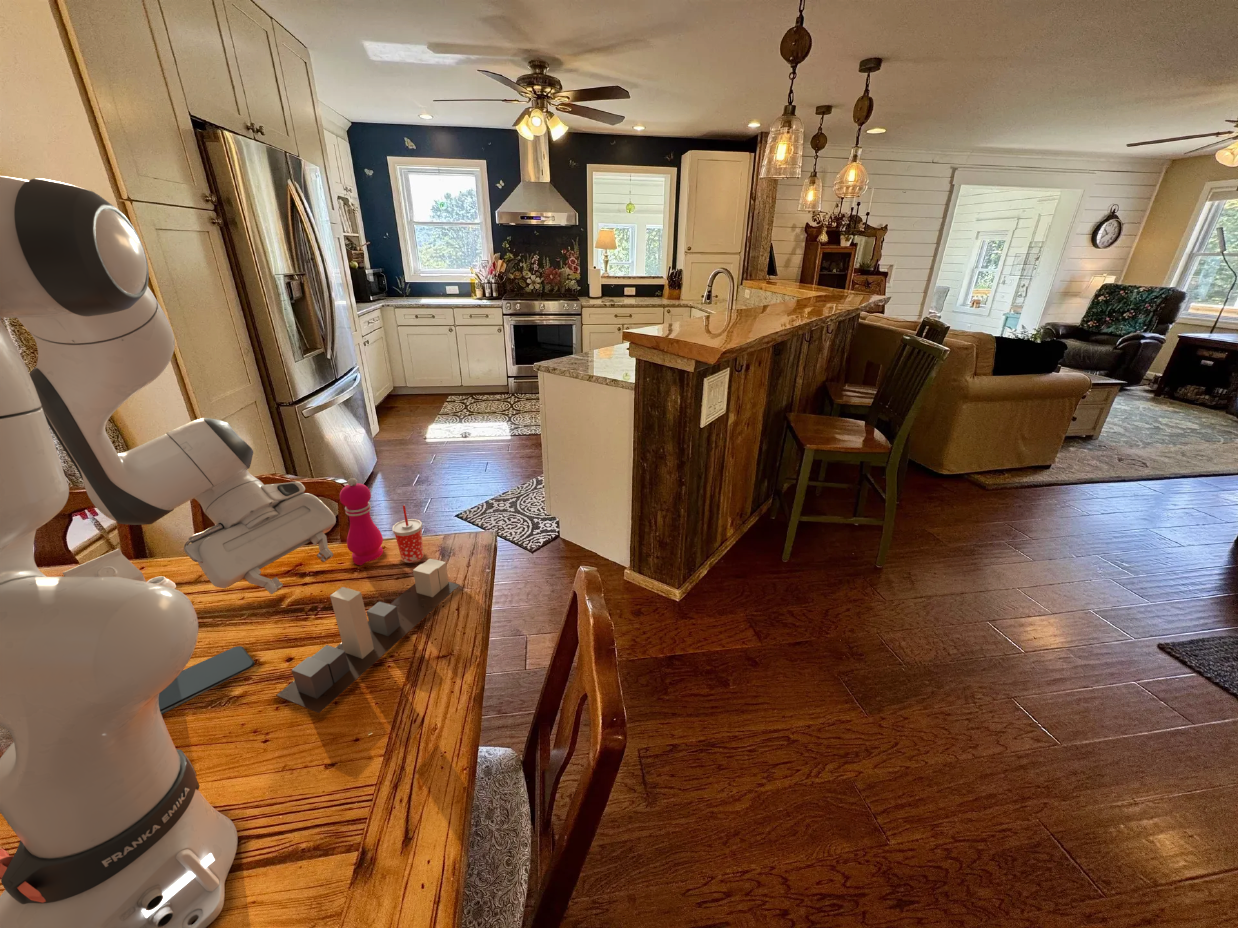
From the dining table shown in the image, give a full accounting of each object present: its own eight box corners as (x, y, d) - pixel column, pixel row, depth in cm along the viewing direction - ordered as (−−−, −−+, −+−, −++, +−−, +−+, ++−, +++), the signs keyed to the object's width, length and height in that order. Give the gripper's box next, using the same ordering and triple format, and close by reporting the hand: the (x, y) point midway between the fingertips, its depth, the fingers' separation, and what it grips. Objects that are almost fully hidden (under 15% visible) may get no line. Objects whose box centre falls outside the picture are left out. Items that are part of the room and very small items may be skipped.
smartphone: (256, 663, 81) (134, 722, 70) (259, 671, 82) (138, 731, 71) (240, 642, 86) (122, 695, 74) (242, 650, 86) (126, 703, 75)
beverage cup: (421, 568, 109) (411, 512, 103) (393, 567, 109) (383, 511, 104) (431, 552, 115) (423, 499, 109) (405, 552, 115) (395, 498, 109)
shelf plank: (320, 717, 73) (319, 712, 73) (277, 699, 76) (275, 695, 76) (460, 588, 102) (460, 584, 102) (425, 579, 105) (425, 575, 105)
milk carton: (97, 663, 82) (48, 568, 75) (146, 634, 89) (105, 544, 81) (125, 673, 80) (77, 577, 73) (173, 644, 87) (133, 552, 79)
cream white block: (432, 597, 98) (429, 574, 96) (416, 592, 99) (412, 570, 97) (448, 583, 102) (445, 560, 100) (433, 578, 104) (429, 556, 102)
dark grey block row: (317, 698, 75) (310, 677, 74) (297, 691, 77) (291, 669, 75) (400, 625, 90) (396, 606, 89) (383, 620, 92) (379, 601, 90)
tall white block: (362, 658, 83) (348, 601, 78) (344, 652, 84) (329, 595, 80) (374, 648, 85) (361, 591, 80) (356, 642, 86) (342, 586, 82)
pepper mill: (372, 568, 108) (354, 487, 101) (343, 564, 110) (324, 483, 102) (392, 551, 115) (377, 473, 107) (365, 547, 116) (348, 470, 108)
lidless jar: (137, 597, 98) (155, 602, 97) (132, 585, 97) (149, 590, 96) (165, 583, 103) (182, 588, 101) (161, 571, 101) (177, 576, 100)
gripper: (181, 532, 71) (247, 603, 71) (308, 478, 88) (360, 535, 89) (171, 552, 74) (235, 620, 74) (296, 496, 92) (346, 551, 92)
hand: (304, 573), depth 82 cm, fingers open, 8 cm apart
